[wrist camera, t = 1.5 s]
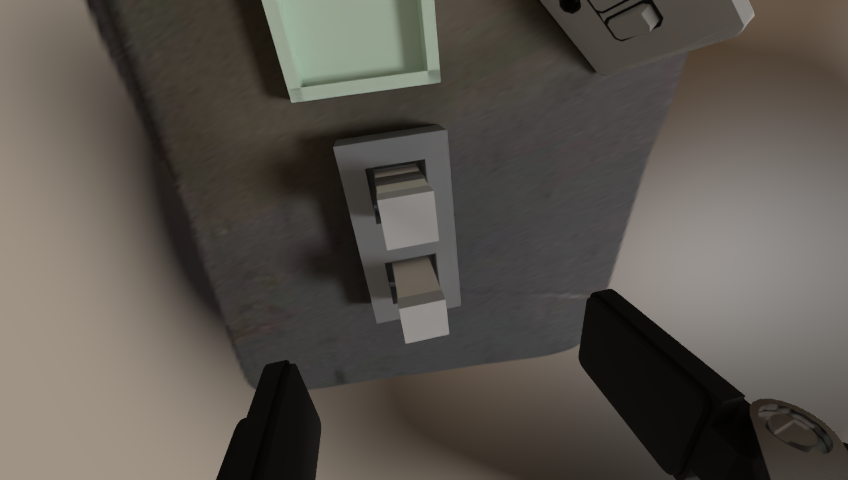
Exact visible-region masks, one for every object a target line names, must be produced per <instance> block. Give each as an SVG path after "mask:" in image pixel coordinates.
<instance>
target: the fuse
mask: <svg viewBox="0 0 848 480" xmlns="http://www.w3.org/2000/svg"><path fill="white" fill-rule="evenodd" d="M392 267H393V273H394V278H395V284H396V290H397V296H398V299H397V300H398V307H399V312H400V317H401V322H402V327H403V332H404V337H405V342H406V344H407V343H411V342H416V341H420V340H425V339H429V338H434V337H439V336H443V335H448V334H449V328H448V319H447V309H446V300H445V297H444V294H443V292H442V289H440V286H439V283H438V281H437V278H436V275H435V273H434V270H433V267H432V265H431V262H430V260H429V257H428V255H424V256H419V257H414V258H409V259H404V260H398V261H393V262H392Z"/></svg>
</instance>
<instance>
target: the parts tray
mask: <svg viewBox="0 0 848 480" xmlns="http://www.w3.org/2000/svg"><path fill="white" fill-rule="evenodd" d="M262 3H263V7H264V10H265V14H266V17H267V21H268V24H269V27H270V31H271V34H272V38H273V41H274V45H275V48H276V51H277V55H278V58H279V62H280V65H281V69H282V72H283V75H284V79H285V82H286V86H287V89H288V93H289V96H290V99H291V103H294V102H301V101H309V100H316V99H323V98H331V97H338V96H345V95H352V94H360V93H367V92H374V91H382V90H389V89H396V88H403V87H411V86H418V85H425V84H433V83H440V82H441V79H440V67H439V55H438V43H437V31H436V18H435V6H434V0H262Z"/></svg>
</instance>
